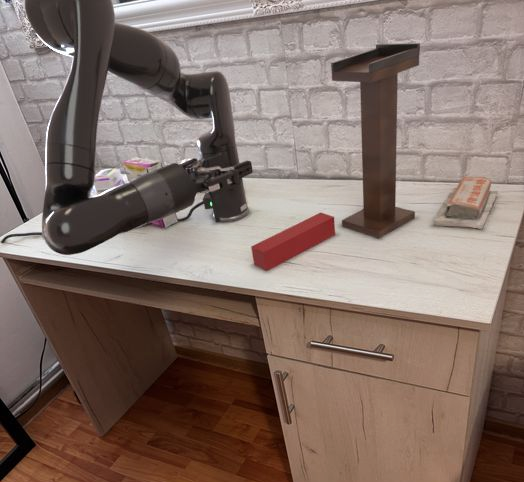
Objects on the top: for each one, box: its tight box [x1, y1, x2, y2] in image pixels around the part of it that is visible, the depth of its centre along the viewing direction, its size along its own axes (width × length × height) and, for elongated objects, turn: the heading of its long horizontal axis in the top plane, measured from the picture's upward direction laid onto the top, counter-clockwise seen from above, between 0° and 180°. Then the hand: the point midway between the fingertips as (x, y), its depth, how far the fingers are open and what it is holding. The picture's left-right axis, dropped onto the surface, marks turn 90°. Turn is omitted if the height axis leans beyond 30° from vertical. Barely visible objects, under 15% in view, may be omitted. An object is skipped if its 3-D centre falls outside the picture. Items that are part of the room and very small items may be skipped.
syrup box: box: [94, 167, 125, 195], centre depth 129 cm, size 6×6×14 cm
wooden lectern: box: [330, 42, 421, 240], centre depth 98 cm, size 13×11×34 cm
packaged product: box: [433, 176, 499, 230], centre depth 105 cm, size 18×5×10 cm
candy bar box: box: [122, 156, 179, 229], centre depth 125 cm, size 11×5×16 cm, turn 47°
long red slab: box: [250, 212, 336, 272], centre depth 104 cm, size 20×4×4 cm, turn 128°
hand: (236, 162), depth 87 cm, fingers open, 8 cm apart
